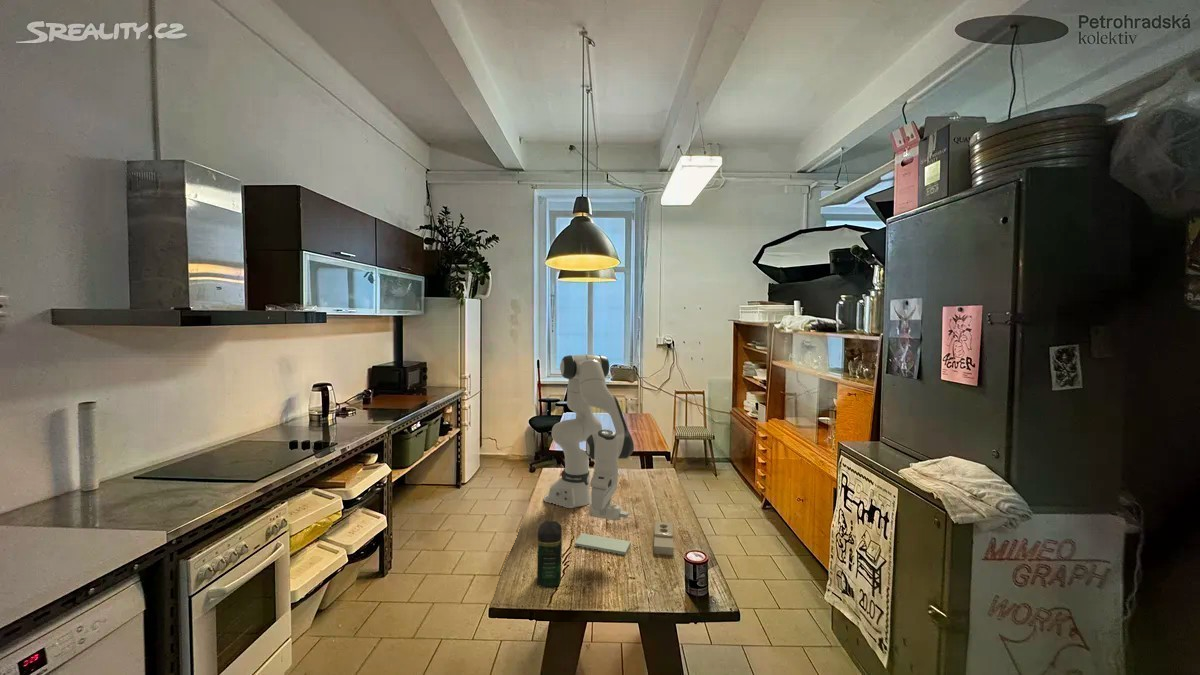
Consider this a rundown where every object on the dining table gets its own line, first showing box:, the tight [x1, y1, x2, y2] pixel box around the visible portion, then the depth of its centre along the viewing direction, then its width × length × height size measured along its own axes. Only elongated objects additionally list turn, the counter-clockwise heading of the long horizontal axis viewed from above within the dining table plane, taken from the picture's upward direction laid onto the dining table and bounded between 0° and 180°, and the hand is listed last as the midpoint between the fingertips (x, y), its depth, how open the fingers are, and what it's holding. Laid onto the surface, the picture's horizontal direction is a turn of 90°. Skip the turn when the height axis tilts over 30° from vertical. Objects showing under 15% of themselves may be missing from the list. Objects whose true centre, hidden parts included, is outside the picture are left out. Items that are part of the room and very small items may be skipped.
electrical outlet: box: [653, 521, 675, 556], centre depth 173 cm, size 7×4×18 cm
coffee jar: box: [536, 520, 563, 588], centre depth 147 cm, size 10×8×19 cm
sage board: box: [574, 532, 632, 556], centre depth 170 cm, size 20×8×1 cm, turn 72°
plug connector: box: [588, 501, 630, 522], centre depth 164 cm, size 15×4×4 cm, turn 72°
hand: (604, 511), depth 164 cm, fingers closed on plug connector, 4 cm apart
